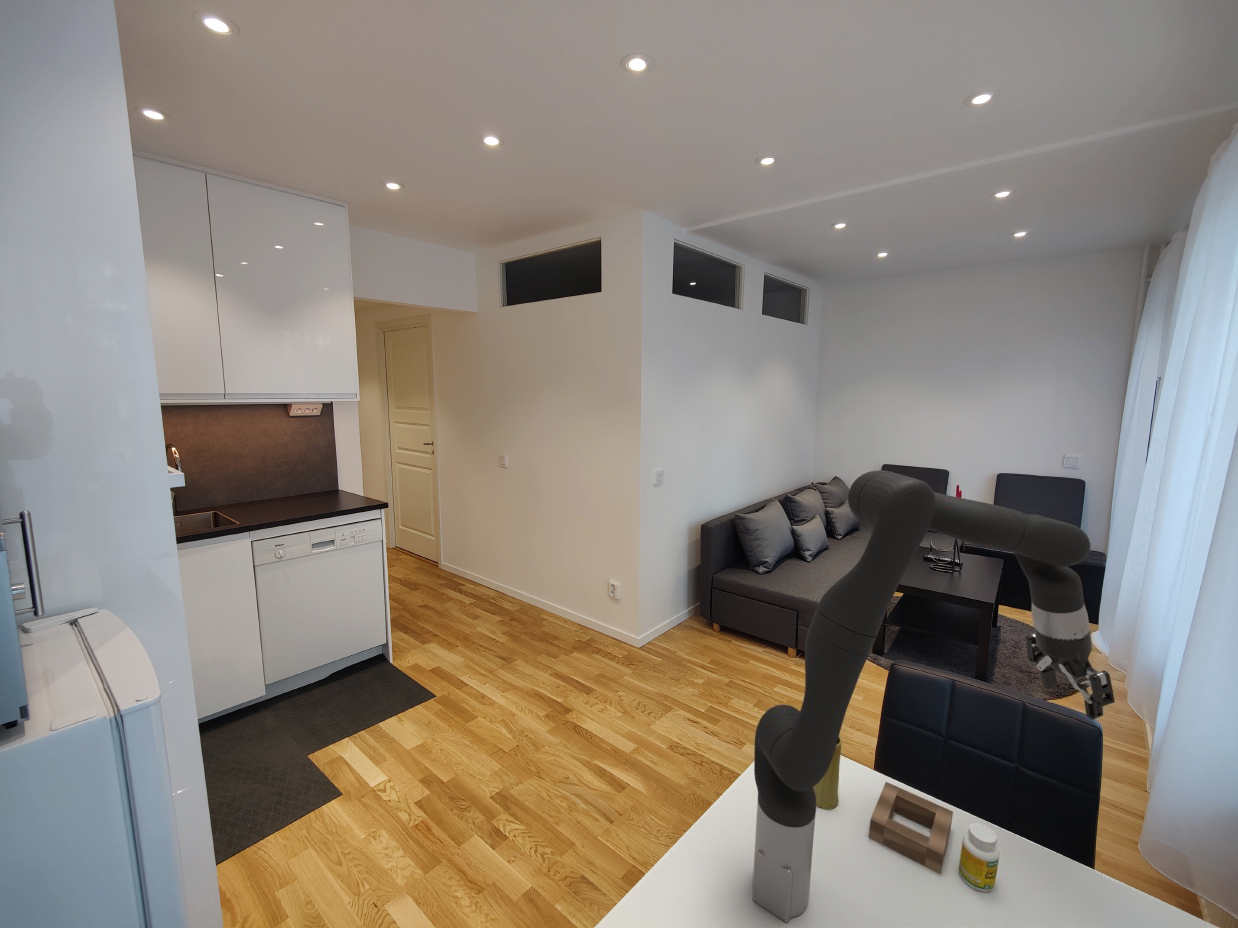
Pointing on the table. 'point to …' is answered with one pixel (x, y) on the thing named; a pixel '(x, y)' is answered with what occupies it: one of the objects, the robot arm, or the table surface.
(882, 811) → the socket block
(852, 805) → the table surface
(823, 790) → the vase
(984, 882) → the supplement bottle
